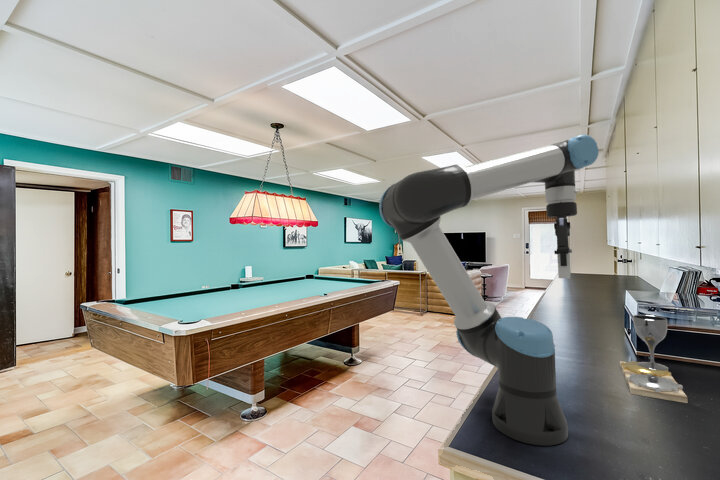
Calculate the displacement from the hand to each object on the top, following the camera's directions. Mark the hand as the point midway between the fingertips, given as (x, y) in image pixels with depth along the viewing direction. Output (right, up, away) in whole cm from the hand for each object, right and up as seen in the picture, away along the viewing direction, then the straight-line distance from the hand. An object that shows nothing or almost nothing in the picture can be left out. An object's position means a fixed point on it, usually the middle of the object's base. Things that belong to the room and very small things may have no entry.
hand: (565, 276), depth 93 cm
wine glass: (+31, -29, +7) cm, 43 cm away
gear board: (+25, -31, +1) cm, 40 cm away
